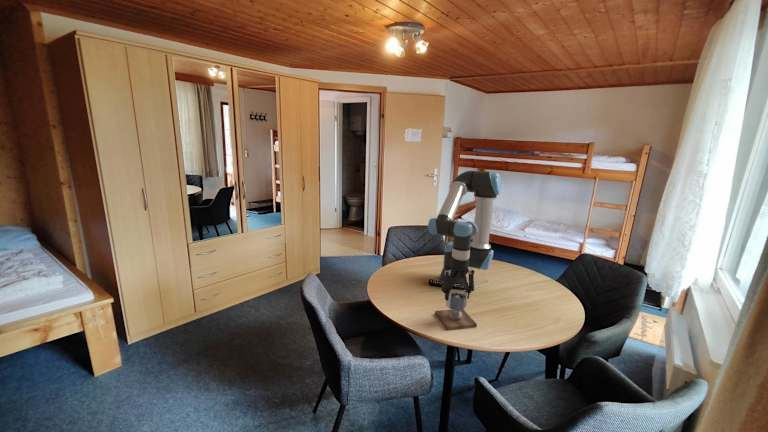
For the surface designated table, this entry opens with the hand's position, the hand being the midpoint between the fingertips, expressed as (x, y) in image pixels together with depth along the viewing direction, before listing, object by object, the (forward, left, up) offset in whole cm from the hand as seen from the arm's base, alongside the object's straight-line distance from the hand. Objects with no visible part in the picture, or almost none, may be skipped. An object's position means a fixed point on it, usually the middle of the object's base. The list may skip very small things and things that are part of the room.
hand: (456, 305), depth 148 cm
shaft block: (0, 0, -7) cm, 7 cm away
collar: (0, 0, 0) cm, 0 cm away
